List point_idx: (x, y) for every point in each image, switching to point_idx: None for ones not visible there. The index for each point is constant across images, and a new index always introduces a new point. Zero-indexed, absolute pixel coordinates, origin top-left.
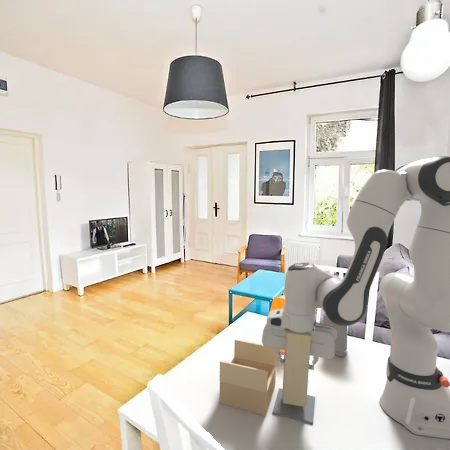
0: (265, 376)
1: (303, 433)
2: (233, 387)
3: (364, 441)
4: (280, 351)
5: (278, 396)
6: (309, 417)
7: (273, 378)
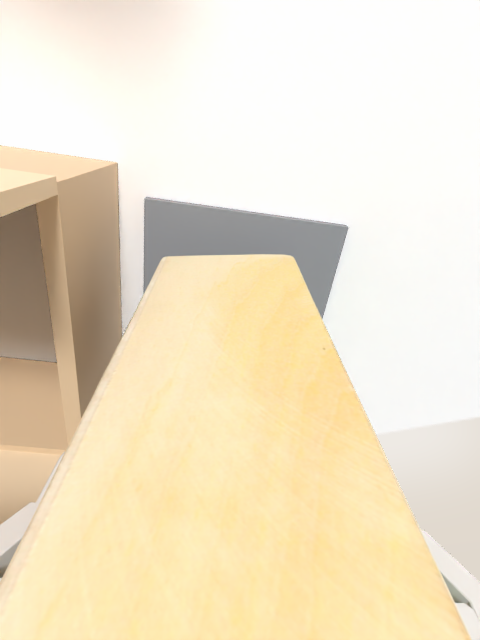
0: None
1: None
2: None
3: (464, 408)
4: (20, 539)
5: (152, 272)
6: None
7: (87, 266)
